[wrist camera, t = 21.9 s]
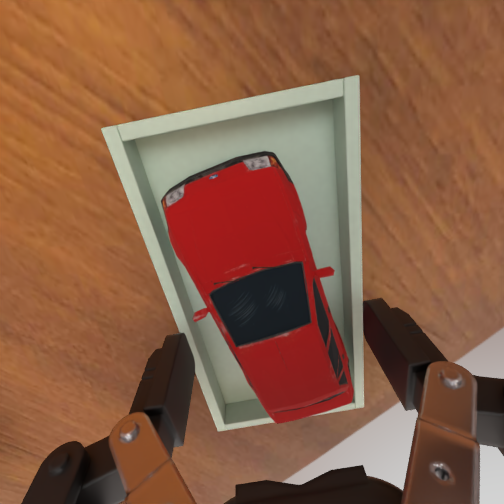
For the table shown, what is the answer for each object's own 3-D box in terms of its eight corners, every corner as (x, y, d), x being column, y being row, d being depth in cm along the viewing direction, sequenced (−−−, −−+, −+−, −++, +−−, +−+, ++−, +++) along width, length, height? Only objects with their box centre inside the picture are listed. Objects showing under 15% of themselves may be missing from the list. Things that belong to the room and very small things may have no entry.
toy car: (283, 134, 12) (310, 147, 8) (351, 358, 19) (387, 436, 14) (151, 187, 13) (108, 226, 9) (258, 386, 19) (265, 468, 15)
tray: (341, 79, 12) (360, 74, 10) (353, 381, 20) (364, 407, 19) (119, 125, 12) (100, 128, 11) (219, 404, 21) (217, 432, 19)
